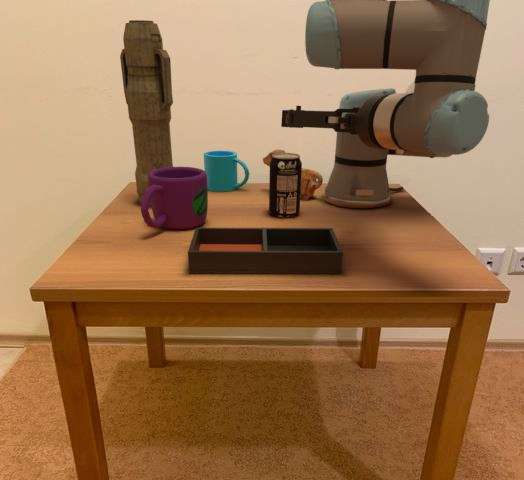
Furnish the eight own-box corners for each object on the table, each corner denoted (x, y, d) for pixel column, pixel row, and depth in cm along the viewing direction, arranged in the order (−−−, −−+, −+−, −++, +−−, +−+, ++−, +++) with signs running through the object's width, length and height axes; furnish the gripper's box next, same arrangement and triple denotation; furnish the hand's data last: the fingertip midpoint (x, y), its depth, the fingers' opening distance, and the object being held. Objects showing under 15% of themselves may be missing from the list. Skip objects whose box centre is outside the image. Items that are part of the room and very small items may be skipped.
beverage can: (281, 208, 114) (283, 151, 108) (305, 213, 110) (308, 155, 104) (262, 214, 109) (263, 155, 103) (287, 220, 106) (289, 159, 100)
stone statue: (169, 210, 111) (154, 19, 94) (125, 204, 115) (102, 20, 98) (190, 200, 118) (179, 21, 101) (148, 195, 122) (130, 22, 105)
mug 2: (199, 189, 128) (197, 154, 124) (216, 182, 134) (215, 149, 130) (241, 194, 124) (240, 159, 119) (256, 187, 130) (256, 153, 126)
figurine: (270, 187, 130) (271, 146, 125) (328, 196, 123) (331, 152, 118) (256, 193, 125) (256, 150, 120) (315, 203, 118) (318, 157, 113)
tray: (196, 247, 91) (195, 227, 90) (330, 247, 92) (332, 228, 90) (189, 273, 81) (187, 251, 79) (341, 274, 81) (343, 252, 79)
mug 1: (173, 212, 110) (169, 164, 105) (219, 219, 106) (217, 169, 101) (121, 235, 97) (113, 181, 91) (171, 244, 92) (166, 188, 87)
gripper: (317, 147, 72) (253, 140, 89) (449, 151, 82) (369, 144, 100) (322, 87, 69) (255, 92, 86) (458, 99, 79) (374, 101, 97)
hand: (316, 120), depth 93 cm, fingers open, 13 cm apart
